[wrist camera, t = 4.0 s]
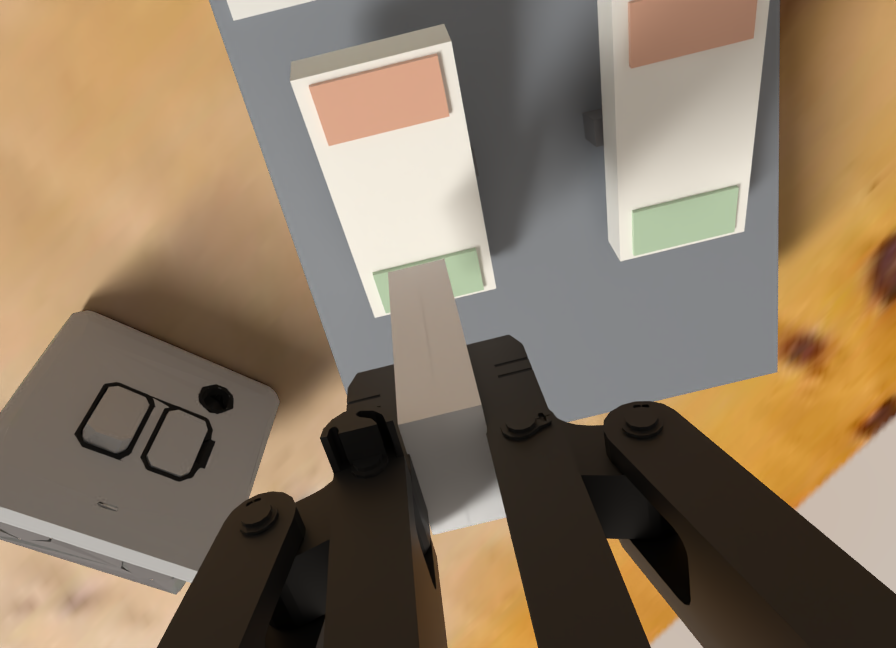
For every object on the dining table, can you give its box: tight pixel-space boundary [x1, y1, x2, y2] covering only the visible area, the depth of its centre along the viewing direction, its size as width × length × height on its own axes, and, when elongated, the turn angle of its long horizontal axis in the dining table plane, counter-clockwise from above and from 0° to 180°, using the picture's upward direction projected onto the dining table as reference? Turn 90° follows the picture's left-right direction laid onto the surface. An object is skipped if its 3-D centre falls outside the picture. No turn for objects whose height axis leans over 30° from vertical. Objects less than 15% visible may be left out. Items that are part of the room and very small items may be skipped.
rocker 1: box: [290, 24, 496, 318], centre depth 20 cm, size 8×4×1 cm, turn 13°
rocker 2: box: [597, 0, 770, 261], centre depth 20 cm, size 8×4×1 cm, turn 13°
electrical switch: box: [0, 310, 280, 594], centre depth 27 cm, size 9×5×9 cm, turn 59°
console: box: [209, 0, 780, 422], centre depth 24 cm, size 22×16×7 cm
